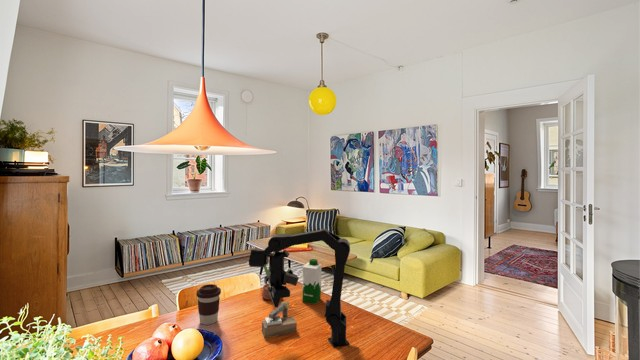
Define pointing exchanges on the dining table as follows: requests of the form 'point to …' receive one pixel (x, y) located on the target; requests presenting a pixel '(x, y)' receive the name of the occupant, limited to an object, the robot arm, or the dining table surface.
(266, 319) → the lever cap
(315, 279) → the milk carton
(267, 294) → the potted flower
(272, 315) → the lever
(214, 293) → the coffee cup
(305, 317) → the dining table surface
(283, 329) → the grey lever base
